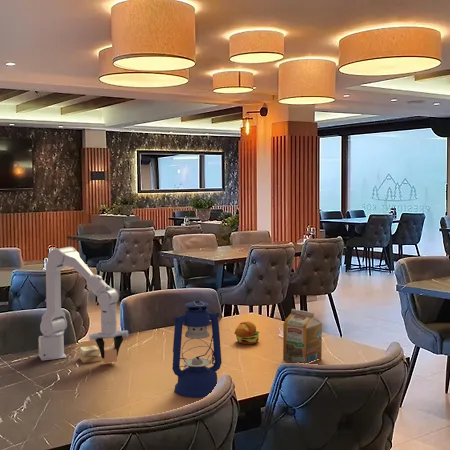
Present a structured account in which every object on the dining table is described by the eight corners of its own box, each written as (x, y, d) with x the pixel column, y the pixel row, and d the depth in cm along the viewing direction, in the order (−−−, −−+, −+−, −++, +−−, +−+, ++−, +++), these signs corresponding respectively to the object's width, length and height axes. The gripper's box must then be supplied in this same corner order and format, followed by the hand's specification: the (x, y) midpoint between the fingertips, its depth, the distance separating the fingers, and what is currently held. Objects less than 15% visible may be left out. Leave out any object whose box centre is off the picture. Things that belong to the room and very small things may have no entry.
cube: (105, 362, 229) (104, 351, 229) (102, 359, 233) (101, 348, 233) (116, 361, 231) (116, 349, 231) (113, 358, 235) (113, 346, 235)
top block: (83, 357, 235) (83, 351, 234) (80, 353, 240) (80, 347, 240) (99, 355, 237) (99, 349, 237) (95, 351, 242) (95, 345, 242)
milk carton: (283, 359, 238) (283, 311, 236) (299, 353, 245) (299, 306, 244) (305, 365, 231) (305, 315, 229) (321, 358, 238) (321, 310, 237)
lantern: (180, 401, 194) (179, 307, 191) (165, 386, 208) (164, 298, 205) (230, 393, 200) (230, 302, 198) (212, 379, 214) (212, 294, 212)
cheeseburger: (264, 340, 265) (262, 319, 262) (252, 352, 257) (250, 330, 254) (244, 337, 271) (241, 316, 268) (232, 348, 262) (229, 327, 259)
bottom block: (83, 364, 234) (83, 358, 234) (79, 359, 240) (79, 353, 240) (101, 362, 237) (101, 355, 237) (97, 357, 243) (97, 351, 243)
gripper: (92, 325, 224) (92, 362, 225) (130, 321, 231) (131, 357, 232) (87, 321, 231) (88, 357, 232) (125, 317, 237) (125, 352, 238)
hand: (109, 356), depth 232 cm, fingers closed on cube, 4 cm apart
